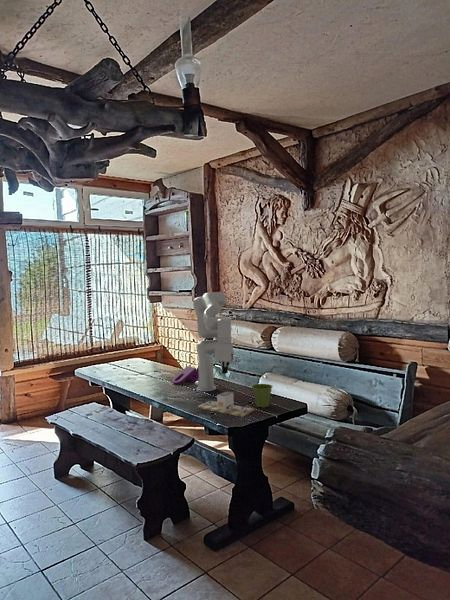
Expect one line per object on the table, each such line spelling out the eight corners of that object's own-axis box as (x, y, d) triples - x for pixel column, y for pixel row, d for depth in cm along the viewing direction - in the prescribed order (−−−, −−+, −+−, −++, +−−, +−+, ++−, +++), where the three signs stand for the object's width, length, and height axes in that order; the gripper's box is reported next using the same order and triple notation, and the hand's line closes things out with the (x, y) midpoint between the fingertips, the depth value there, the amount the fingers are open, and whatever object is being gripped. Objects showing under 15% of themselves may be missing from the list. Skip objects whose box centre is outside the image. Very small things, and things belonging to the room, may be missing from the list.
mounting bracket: (182, 393, 308) (200, 377, 318) (177, 383, 305) (195, 367, 315) (173, 391, 314) (191, 375, 325) (169, 381, 311) (187, 365, 322)
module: (216, 409, 250) (216, 394, 249) (226, 404, 257) (226, 391, 256) (224, 410, 247) (223, 396, 246) (233, 406, 254) (233, 392, 254)
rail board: (197, 407, 256) (197, 406, 256) (210, 402, 266) (210, 400, 266) (242, 416, 239) (242, 415, 239) (254, 410, 248) (254, 409, 248)
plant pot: (277, 405, 258) (276, 385, 257) (264, 410, 249) (264, 390, 248) (260, 401, 265) (260, 382, 265) (247, 406, 257) (247, 386, 256)
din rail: (205, 404, 258) (205, 401, 258) (208, 403, 261) (208, 400, 261) (243, 412, 243) (243, 409, 243) (247, 410, 246) (247, 407, 246)
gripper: (209, 340, 253) (210, 372, 255) (231, 342, 245) (232, 376, 246) (217, 338, 259) (218, 370, 261) (239, 340, 251) (239, 373, 252)
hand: (224, 373), depth 254 cm, fingers closed
